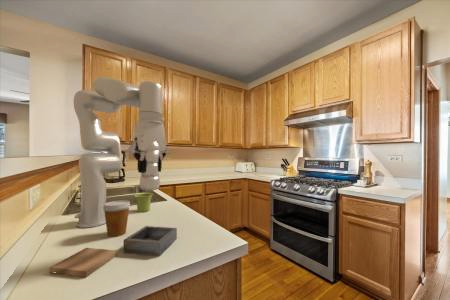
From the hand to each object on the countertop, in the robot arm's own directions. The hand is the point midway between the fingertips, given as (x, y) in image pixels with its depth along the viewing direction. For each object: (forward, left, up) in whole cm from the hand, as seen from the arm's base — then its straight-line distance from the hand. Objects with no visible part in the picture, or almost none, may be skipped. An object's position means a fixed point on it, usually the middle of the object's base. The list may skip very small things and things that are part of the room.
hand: (149, 171), depth 67 cm
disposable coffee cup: (-18, +7, -25) cm, 32 cm away
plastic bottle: (0, 0, -7) cm, 7 cm away
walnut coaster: (-12, -13, -25) cm, 31 cm away
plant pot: (-26, +38, -25) cm, 53 cm away
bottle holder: (+1, 0, -25) cm, 25 cm away
